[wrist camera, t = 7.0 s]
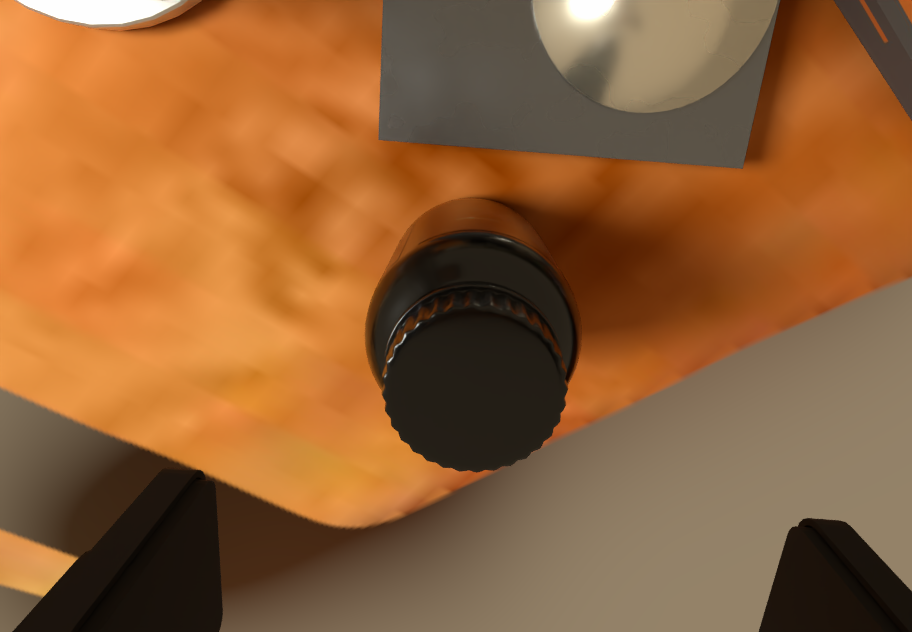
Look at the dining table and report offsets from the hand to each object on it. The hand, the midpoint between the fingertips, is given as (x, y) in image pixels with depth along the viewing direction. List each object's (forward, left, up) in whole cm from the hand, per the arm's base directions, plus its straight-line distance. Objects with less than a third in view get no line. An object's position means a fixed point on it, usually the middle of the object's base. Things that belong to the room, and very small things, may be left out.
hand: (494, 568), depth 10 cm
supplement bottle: (0, 0, -18) cm, 18 cm away
